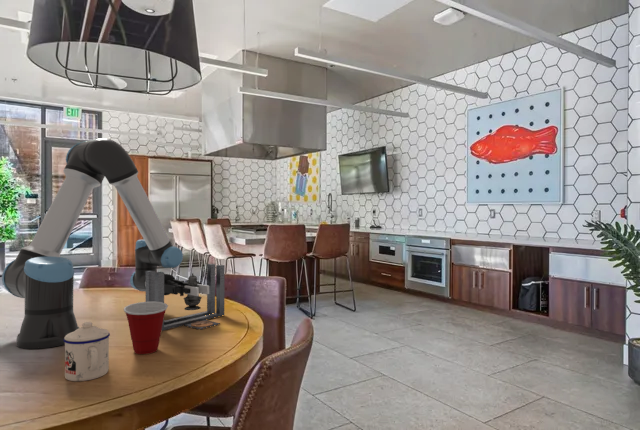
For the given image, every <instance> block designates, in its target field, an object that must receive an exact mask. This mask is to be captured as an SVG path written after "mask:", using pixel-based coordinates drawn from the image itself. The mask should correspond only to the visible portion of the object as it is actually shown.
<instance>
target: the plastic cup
mask: <svg viewBox="0 0 640 430" xmlns="http://www.w3.org/2000/svg"><path fill="white" fill-rule="evenodd" d="M168 307H169V305H168V303H165V302H164V303H162V302H146V301H141V302H140V301H139V302H136V303H135V302H134V303H131V304H128V305H126V306H124V308H123V312H124V313H125V314H126V315H125V316H126V319H127V322H128V327H129V335H130V339H131V342H132V348H133V349H132V350H133V351H134V354H137V355H149V354H152V353H155V352H156V351H158V349H159V345H160V340H161V339H160V338H161V335H162V331H161V330H162V324H163V318H164V319H165V314H166V311H167V309H168Z"/></svg>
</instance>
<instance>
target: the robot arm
mask: <svg viewBox="0 0 640 430" xmlns="http://www.w3.org/2000/svg"><path fill="white" fill-rule="evenodd" d="M132 159H133V158H131V156H130V154H129V153H128V152H127V150H126V149H125V148H124V147H123V146H122V145H121V144H119V143H118V142H117V141H115V140H113V139H111V138H105V137H104V138H103V137H102V138H96V139H92V140H84V141H81V142H78V143H76V144H74V145H73V146H72V147H70V148H69V149H68V151H67V153H66V156H65V163H66V165H65V167H64V168H63V173H64V175H65V178H64V180H63V182H62V184H61V186H60V187H59V189H58V191H57V193H56V194H55V197H54V199H53V200H52V202H51V205H50V206H49V208H48V210H47V212H46V214H45V215H44V218H43V219H42V221H41V223H40V225H39V227H38V229H37V231H36V232H35V234H34V237H33V238H32V240H31V242H30V244H29V245H26V246H24V247H21V249H20V250H19V252H18V254H17V256H16V258H15V259H13V260H11V261H10V262H9V263H8V264H7V265H6V266H5V268H4V269H3V271H2V273H1V282H2V285H3V287H4V289H5V290H6V291H8V293H10V294H11V295H12V296H14V297H16V298H20V299H24V315H23V316H24V317H23V321H22V323H21V325H20V330H19V333H18V334H17V336H16V347H17V348H20V349H25V350H26V349H27V350H28V349H29V350H30V349H31V350H35V349H36V350H38V349H47V348H54V347H59V346H63V345H64V346H65V342H64V337H65V336H66V335H67V334H69V333H71V332H74V331H75V330H77V329H78V328H80V327H79V325H78V322H77V318H76V315H75V312H74V282H75V281H74V277H75V270H74V263H73V261H72V260H71V259H69V258H66V257H61V254H62V252H63V249H64V248H65V246H66V244H67V242H68V240H69V237H70V235H71V233H72V232H73V230H74V227H75V226H76V224H77V221H78V219H79V218H80V215H81V213H82V211H83V210H84V208H85V205H86V203H87V202H88V199H89V198H90V195H91V194H92V191H93V190H94V189H96V188H98V187H101V185H102V183H103V181H104V178H105V179H106V180H107V182H108V183H109V184H108V185H111V186H114V188H115V190H116V191H117V193H118V195H119V196H120V199H121V200H122V202H123V204H124V205H125V207H126V209H127V211H128V213H129V215H130V217H131V219H132V220H133V222H134V223H135V226H136V228H137V229H138V231H139V233H140V235H141V236H142V239H138V240H136V242H135V248H134V251H135V252H134V256H135V257H134V259H135V260H134V261H135V263H134V264H135V267H134V268H135V269H134V271H133V273H131V276H130V278H129V284H130V286H131V288H133V289H134V290H137V291H138V292H139V291H140V292H145V293H146V271H155V272H158V271H157V270H158V267H161V268H166V269H173V268H174V269H175V268H177V267H179V266H180V265H181V263H182V262H183V259H184V254H183V251H182V250H181V249H180V247H178V246H174V245H173V244H172V242H171V240H170V238H169V236H168V233H167V232H166V230H165V228H164V226H163V224H162V222H161V220H160V218H159V217H158V214H157V213H156V210H155V209H154V206H153V205H152V202H151V201H150V199H149V197H148V195H147V193H146V191H145V189H144V187H143V185H142V183H141V181H140V180H139V177H138V174H139V171H138V169H137V166H136V164H135V162H134V160H132ZM197 286H198V287H192V286H188V279H186V280H185V281H184V280H179V279H176V278H175V277H174V276H173V275H172V274H170V273H164V296H169V295H178V294H179V296H180V297H184V295H193V296H199V295H200V294H204V295H207V294H209V286H207V284H203V283H202V282H199V281H197Z"/></svg>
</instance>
